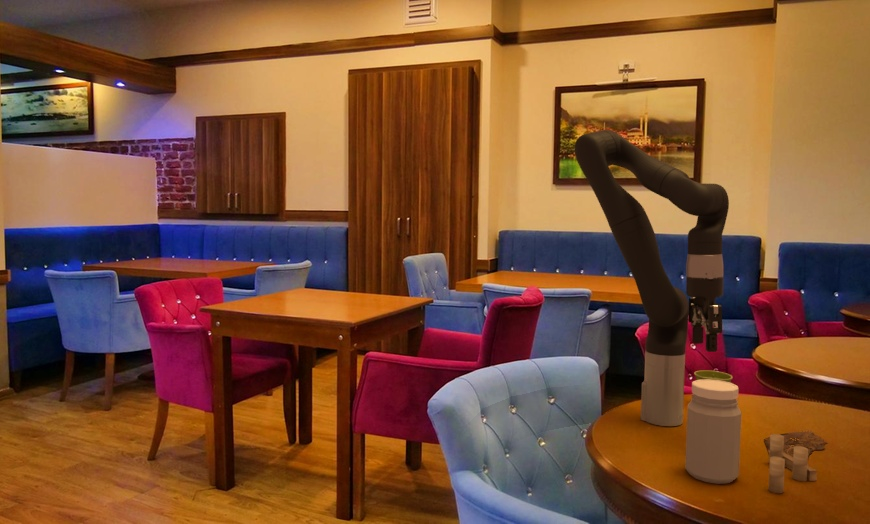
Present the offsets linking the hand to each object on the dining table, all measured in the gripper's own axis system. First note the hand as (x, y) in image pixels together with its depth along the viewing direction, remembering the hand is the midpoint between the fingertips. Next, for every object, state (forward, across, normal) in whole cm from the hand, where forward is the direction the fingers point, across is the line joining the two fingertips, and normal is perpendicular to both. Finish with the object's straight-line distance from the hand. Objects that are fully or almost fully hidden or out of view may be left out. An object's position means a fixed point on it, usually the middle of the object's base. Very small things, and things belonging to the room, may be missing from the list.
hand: (704, 347), depth 141 cm
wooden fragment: (+23, 0, +20) cm, 30 cm away
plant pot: (+22, -28, +11) cm, 37 cm away
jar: (+21, +19, -5) cm, 29 cm away
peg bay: (+22, +17, +7) cm, 28 cm away
